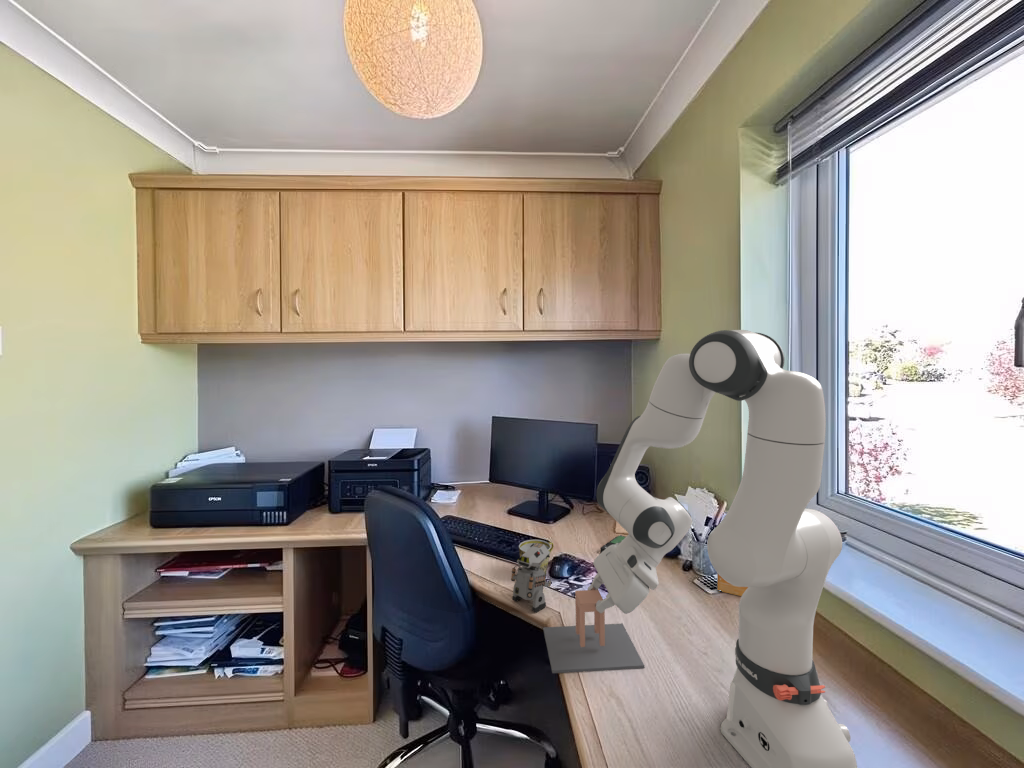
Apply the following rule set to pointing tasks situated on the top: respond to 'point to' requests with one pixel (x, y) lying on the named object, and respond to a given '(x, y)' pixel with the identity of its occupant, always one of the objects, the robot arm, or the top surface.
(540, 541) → the ceramic cup
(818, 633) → the top surface
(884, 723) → the top surface
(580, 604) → the miniature stool
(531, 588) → the figurine
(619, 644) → the charcoal mat
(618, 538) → the disk drive
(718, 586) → the small box
